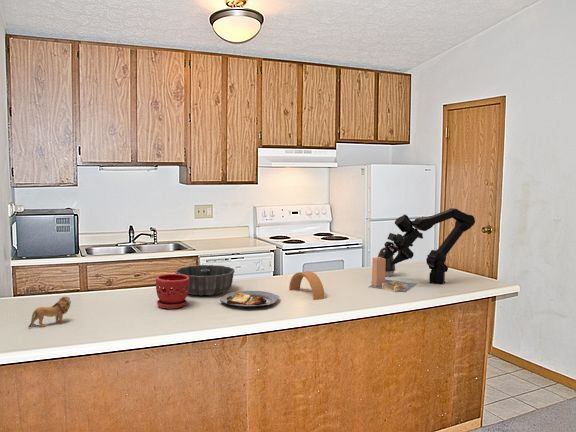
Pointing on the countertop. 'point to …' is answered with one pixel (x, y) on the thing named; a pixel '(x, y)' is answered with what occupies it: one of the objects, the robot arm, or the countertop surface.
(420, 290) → the countertop surface
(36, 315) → the lion figurine
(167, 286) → the plant pot
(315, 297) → the arch
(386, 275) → the black tapered dome
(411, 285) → the board
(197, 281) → the bundt pan
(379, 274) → the terracotta column
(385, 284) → the maple socket block
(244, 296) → the food plate
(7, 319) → the countertop surface
